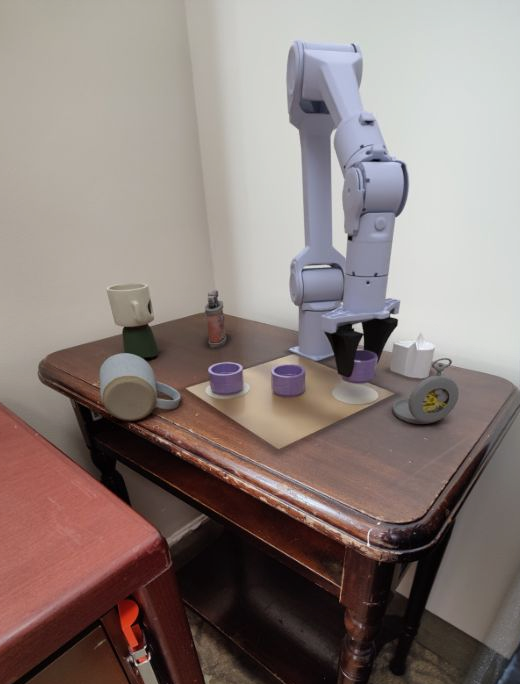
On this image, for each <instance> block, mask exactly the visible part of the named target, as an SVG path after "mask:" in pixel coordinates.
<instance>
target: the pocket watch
mask: <svg viewBox="0 0 520 684" xmlns="http://www.w3.org/2000/svg"><path fill="white" fill-rule="evenodd" d="M440 361H448V362H449V363H448V364H447V365H445V366H444V364H443V363H442V362H440ZM438 362H440V363H438ZM436 363H438V365H437V366H435V364H436ZM452 363H453V360H452V359H451V358H448V357H443V358H438V359H436V360H435V361H433V362H432V364H431V368H432V369H434V370H435V371H436V374H434V375H429V376H428V377H426V378H423V380H420V382H419V383H418V384H417V385H416V386H415V387H414V388H413V390H412V391H411V392H410V393H411V394H410V395H409V398H402V399H400V400H397V401H396V402H394V403H393V405H392V412H393V414H394V416H396V417H397V418H398V419H400V420H402V421H404V422H407V423H411V424H415V425H429V424H432V423H433V424H434V423H435V422H438V421H439V420H442V419H444V418H445V417H447V416H448V415H450V413H451V412H452V411H453V409H455V406H456V405H457V402H458V400H459V396H460V395H459V392H460V391H459V387H458V385H457V383H456V381H455V380H453V378H452V377H450V376H449V375H445V374H442V372H444V371H445V369H446V368H448V367H450V366H451V365H452Z"/></svg>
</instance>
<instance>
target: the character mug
mask: <svg viewBox="0 0 520 684" xmlns="http://www.w3.org/2000/svg"><path fill="white" fill-rule="evenodd" d="M105 290H106V294H107V297H108V303H109V306H110V309H111V314H112V318H113V322H114V324H115V325H116V326H118V327H122V331H121V333H122V345H123V351H124V352H123V353H129V354H133V355H136V356H139V357H141V358H142V359H144V360H146V359H147V358H154V357H156V356H158V355H159V353H160V350H159V347H158V344H157V340H156V337H155V335H154V332H153V329H152V328H151V326H150V325H149V324H151V323H152V322H153V321H154V320H155V314H154V309H153V303H152V298H151V294H150V289H149V285H148V284H147V283H143V282H123V283H116V284H112V285H109V286H106V289H105Z"/></svg>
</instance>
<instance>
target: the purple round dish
mask: <svg viewBox="0 0 520 684" xmlns="http://www.w3.org/2000/svg"><path fill="white" fill-rule="evenodd" d="M377 359H378V356H377V354H376V353H374V352H372V351H369V350H364V348H363V349H362V348H357V351H356V354H355V359H354V366H353V371H352V374H351V377H345V376H342V375H340V376H341V378H342V379H343V380H344V381H346V382H349V383H354V384H364V383H371V382H372V381H373V380H374V378H375V377H376V375H377V367H378V364H377Z"/></svg>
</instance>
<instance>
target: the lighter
mask: <svg viewBox="0 0 520 684" xmlns="http://www.w3.org/2000/svg"><path fill="white" fill-rule="evenodd" d="M218 298H219V291H218V289H212V291H211V292H208V293H207V303H206V305H205V306H204V313H205V314H206V321H207V329H208V338H209V339H208V346H209V347H210V348H212V349H213V348H218V347H219V348H220V347H221V346H224V345H225V344H226V342H227V334H226V330H225V313H224V301H223V300H218Z"/></svg>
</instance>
